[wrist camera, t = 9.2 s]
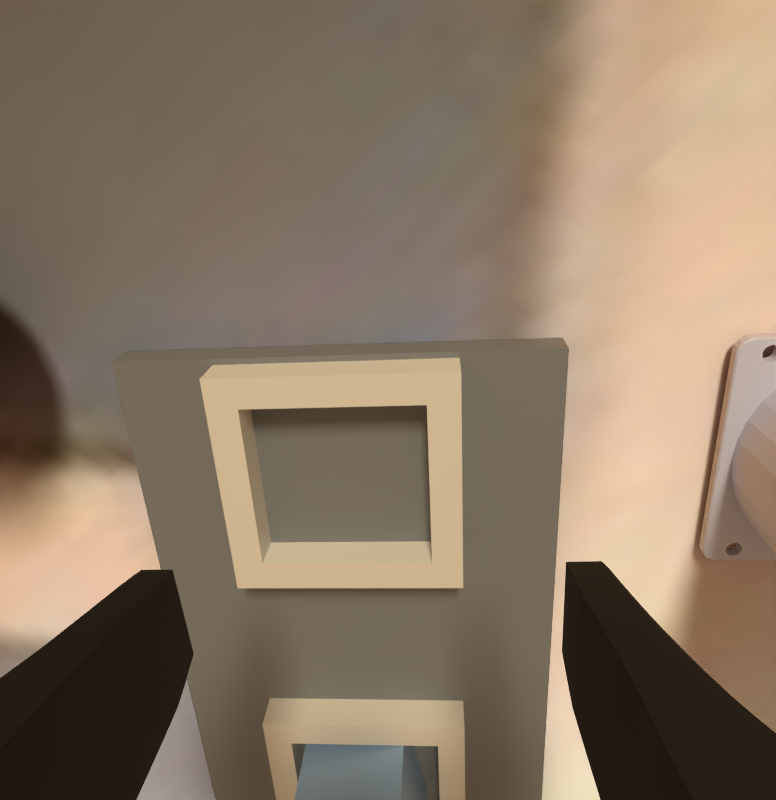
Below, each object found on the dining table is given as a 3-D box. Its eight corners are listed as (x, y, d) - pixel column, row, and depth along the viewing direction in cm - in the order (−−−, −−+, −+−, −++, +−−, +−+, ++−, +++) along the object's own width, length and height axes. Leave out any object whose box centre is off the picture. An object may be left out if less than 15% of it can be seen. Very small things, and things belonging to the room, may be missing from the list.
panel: (562, 337, 19) (577, 361, 17) (535, 811, 28) (543, 864, 26) (125, 351, 21) (92, 375, 19) (228, 803, 29) (213, 853, 27)
